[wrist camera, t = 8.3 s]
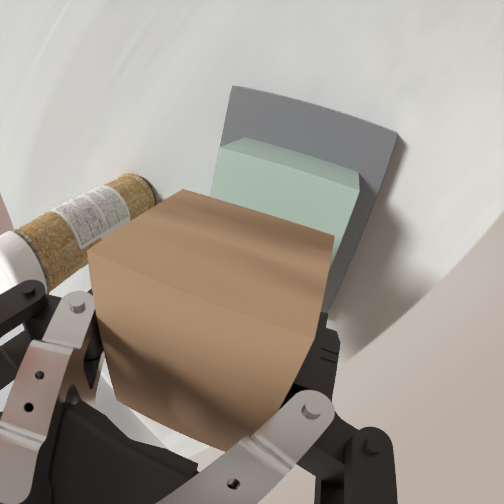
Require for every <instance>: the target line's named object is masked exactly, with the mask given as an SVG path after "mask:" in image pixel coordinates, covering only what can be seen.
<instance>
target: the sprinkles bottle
mask: <svg viewBox="0 0 504 504" xmlns="http://www.w3.org/2000/svg"><path fill="white" fill-rule="evenodd" d="M154 206H155V201H154V196H153V192H152V190H151V188H150V187H149V186H148V184H147V183H146V181H145V180H144V179H143V178H141V177H140V176H139V175H135V174H130V173H128V174H123V175H121V176H119V177H118V178H117V179H116V180H114V181H111V182H109V183H107V184H105V185H103V186H98V187H96V188H94V189H91V190H89V191H87V192H85V193H83V194H81V195H79V196H77V197H74V198H72V199H70V200H68V201H66V202H64V203H62V204H60V205H58V206H56V207H54V208H53V209H51V210H49V211H47V212H45V213H44V214H43V215H41V216H39V217H38V218H36V219H34V220H33V221H31V222H29V223H27V224H26V225H24V226H22V227H20V228H19V229H15V230H13V231H9V232H6V233H4V234H2V235H1V236H0V294H2V293H4V292H5V291H7V290H9V289H11V288H12V287H14V286H16V285H18V284H19V283H21V282H23V281H26V280H38V281H40V282H42V283H43V284H44V286H45V289H46V294H49V292H50V291H51V290H53V289H54V288H56V287H57V286H58V285H59V284H61V283H62V282H63V281H64V280H66V279H67V278H68V277H70V276H71V275H72V274H74V273H75V272H76V271H78V270H79V269H81V268H83V267H84V266H86V265H87V264H88V255H87V250H88V249H90V248H91V247H93V246H94V245H95V244H97V243H98V242H100V241H101V240H103V239H104V238H106V237H107V236H109V235H110V234H112V233H113V232H115V231H116V230H118V229H119V228H121V227H122V226H124V225H126V224H127V223H129V222H130V221H132V220H133V219H135V218H136V217H138V216H140V215H141V214H143V213H144V212H146V211H148V210H149V209H151V208H152V207H154Z"/></svg>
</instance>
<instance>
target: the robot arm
mask: <svg viewBox="0 0 504 504" xmlns="http://www.w3.org/2000/svg"><path fill="white" fill-rule="evenodd" d="M327 318H328V314H327V313H324V312H321V311H320V316H319V321H318V325H317V330H316V334H315V339H314V341H313V343H312V345H311V347H310V349H309V351H308V353H307V355H306V358H305V360H304V362H303V364H302V366H301V368H300V370H299V372H298V374H297V376H296V378H295V380H294V382H293V384H292V386H291V387H290V389H289V391H288V393H287V395H286V397H285V399H284V401H283V403H282V405H281V406H280V408H279V410H278V412H277V413H276V414H274V415H273V416H272V417H271V418H270V419H269V420H268V421H267V422H266V423H265V424H264V425H262V426H261V427H260V428H259V429H258V430H257V431H256V432H254V433H253V434H252V435H247V436H245V437H244V438H243V439H241V440H240V441H239V442H237V443H236V444H235V445H234V446H233V447H231V448H230V449H229V450H228V451H227V452H225V453H224V454H223V455H222V456H220V457H219V458H218V459H217V460H215V461H214V462H213V463H211V464H210V465H209V466H208V467H206V468H205V469H204V470H202V471H201V472H198V471H197V467H198V463H196V462H193V461H191V460H189V459H187V458H184V457H182V456H180V455H178V454H176V453H174V452H171V451H169V450H167V449H165V448H160V447H156V446H152V445H149V444H145V443H141V442H137V441H134V440H131V439H130V438H128V437H127V436H126V435H125V434H124V433H123V432H122V431H120V430H119V429H118V428H117V427H116V426H115V425H114V424H113V423H112V422H111V421H110V420H109V419H108V418H107V416H106V415H104V414H102V413H101V412H99V411H98V410H96V403H95V396H96V390H97V386H98V381H99V378H100V374H101V370H102V366H103V362H104V358H105V354H104V350H103V345H102V341H101V336H100V331H99V326H98V321H97V316H96V310H95V305H94V299H93V292H92V289H90V290H89V291H88V292H83V291H76V292H71V293H69V294H67V295H65V296H64V297H63V298H61V297H56V296H52V295H48V294H46V289H45V286H44V284H43V283H42V282H40V281H38V280H26V281H23V282H21V283H19V284H18V285H16V286H14V287H12V288H11V289H9V290H7V291H5V292H4V293H2V294H0V338H1V337H2V336H3V335H5V334H6V333H8V332H9V331H11V330H12V329H14V328H15V327H17V326H18V325H20V324H23V326H24V329H25V330H24V331H23V332H21V333H20V334H18V335H17V336H15V337H14V338H12V339H11V340H9V341H8V342H6V343H5V344H4V345H2V346H0V390H1V389H2V388H4V387H5V386H6V385H8V384H9V383H10V382H12V381H13V380H14V379H15V380H14V383H13V386H12V388H11V391H10V394H9V396H8V399H7V402H6V405H5V408H4V411H3V412H0V504H257V503H258V502H259V501H260V500H261V499H262V498H263V497H264V496H266V495H267V494H268V493H269V492H270V491H271V490H272V489H273V488H274V487H275V486H276V485H277V484H278V483H279V482H280V481H281V480H282V479H283V478H284V477H285V475H286V474H287V473H288V472H289V471H290V470H291V469H292V467H293V466H294V465H295V464H297V465H299V466H300V467H302V468H304V469H305V470H307V471H308V472H310V473H311V474H313V475H315V476H316V481H315V499H314V504H398V503H397V488H396V474H395V463H394V455H393V454H394V453H393V445H392V442H391V440H390V438H389V436H388V435H387V434H386V433H385V432H384V431H382V430H381V429H378V428H375V427H365V428H362V429H360V430H358V429H356V428H354V427H353V426H351V425H349V424H348V423H346V422H345V421H343V420H342V419H341V418H340V417H339V416H338V415H337V413H336V412H335V410H334V406H333V404H332V394H333V389H334V383H335V376H336V370H337V363H338V357H339V356H338V355H339V350H340V340H339V337H338V334H337V331H334V330H331V329H328V328H326V323H327Z"/></svg>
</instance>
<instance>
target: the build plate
mask: <svg viewBox="0 0 504 504" xmlns="http://www.w3.org/2000/svg"><path fill="white" fill-rule="evenodd" d="M397 136H398V133H397V132H395V131H392V130H390V129H387V128H384V127H382V126H379V125H376V124H374V123H371V122H368V121H365V120H362V119H359V118H357V117H354V116H351V115H348V114H345V113H341V112H338V111H335V110H332V109H329V108H325V107H322V106H319V105H315V104H312V103H308V102H304V101H301V100H297V99H293V98H289V97H285V96H281V95H277V94H273V93H268V92H264V91H259V90H254V89H250V88H245V87H240V86H232V89H231V94H230V99H229V104H228V108H227V113H226V118H225V123H224V129H223V134H222V139H221V144H220V147H219V151H218V157H217V162H216V168H215V173H214V179H213V185H212V191H211V197H212V198H215V199H219V200H222V201H226V202H229V203H232V204H236V205H239V206H242V207H246V208H249V209H252V210H256V211H259V212H262V213H265V214H269V215H272V216H275V217H278V218H281V219H285V220H288V221H291V222H294V223H297V224H300V225H303V226H307V227H310V228H313V229H316V230H319V231H322V232H325V233H328V234H331V235H334V236H335V238H334V244H333V249H332V255H331V261H330V266H329V271H328V277H327V282H326V287H325V292H324V297H323V302H322V307H321V312H324V313H327V312H328V310H329V308H330V306H331V303H332V301H333V299H334V297H335V295H336V293H337V291H338V288H339V286H340V284H341V282H342V279H343V277H344V275H345V273H346V270H347V268H348V266H349V264H350V261H351V259H352V257H353V254H354V252H355V249H356V247H357V245H358V242H359V240H360V237H361V235H362V233H363V230H364V228H365V225H366V223H367V220H368V217H369V215H370V212H371V210H372V207H373V205H374V202H375V199H376V197H377V194H378V191H379V188H380V186H381V183H382V180H383V177H384V175H385V172H386V169H387V166H388V163H389V160H390V157H391V154H392V151H393V148H394V145H395V142H396V139H397Z"/></svg>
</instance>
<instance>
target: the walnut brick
mask: <svg viewBox="0 0 504 504" xmlns="http://www.w3.org/2000/svg"><path fill="white" fill-rule="evenodd" d="M334 238H335V236H334V235H331V234H328V233H325V232H322V231H319V230H316V229H313V228H310V227H307V226H303V225H300V224H297V223H294V222H291V221H288V220H285V219H281V218H278V217H275V216H272V215H269V214H265V213H262V212H259V211H256V210H252V209H249V208H246V207H242V206H239V205H236V204H232V203H229V202H226V201H222V200H219V199H215V198H212V197H209V196H205V195H202V194H198V193H195V192H191V191H187V190H184V189H182V190H181V191H179V192H177V193H176V194H174V195H172V196H171V197H169V198H167V199H166V200H164V201H162V202H161V203H159V204H157V205H156V206H154V207H152V208H151V209H149V210H148V211H146V212H144V213H143V214H141V215H140V216H138V217H136V218H135V219H133V220H132V221H130V222H129V223H127V224H126V225H124V226H122V227H121V228H119V229H118V230H116V231H115V232H113V233H112V234H110V235H109V236H107V237H106V238H104V239H103V240H101V241H100V242H98V243H97V244H95V245H94V246H93V247H91V248H90V249H88V250H87V255H88V264H89V271H90V279H91V286H92V292H93V299H94V305H95V310H96V316H97V321H98V326H99V331H100V336H101V341H102V345H103V350H104V354H105V358H106V362H107V366H108V370H109V374H110V378H111V382H112V385H113V389H114V393H115V396H116V399H117V401H119V402H121V403H122V404H124V405H126V406H128V407H130V408H131V409H133V410H135V411H137V412H139V413H141V414H143V415H144V416H146V417H148V418H150V419H152V420H154V421H156V422H158V423H160V424H162V425H164V426H166V427H168V428H171V429H173V430H175V431H177V432H179V433H181V434H184V435H186V436H188V437H190V438H193V439H195V440H197V441H200V442H202V443H204V444H207V445H209V446H212V447H214V448H217V449H220V450H222V451H225V452H227V451H228V450H229V449H230V448H231V447H233V446H234V445H235V444H236V443H237V442H239V441H240V440H241V439H243V438H244V437H245V436H247V435H252V434H253V433H254V432H256V431H257V430H258V429H259V428H260V427H261V426H262V425H264V424H265V423H266V422H267V421H268V420H269V419H270V418H271V417H272V416H273V415H274V414H276V413H277V412H278V410H279V408H280V406H281V405H282V403H283V401H284V399H285V397H286V395H287V393H288V391H289V389H290V387H291V386H292V384H293V382H294V380H295V378H296V376H297V374H298V372H299V370H300V368H301V366H302V364H303V362H304V360H305V358H306V355H307V353H308V351H309V349H310V347H311V345H312V343H313V341H314V339H315V334H316V330H317V325H318V321H319V316H320V311H321V307H322V302H323V297H324V292H325V287H326V282H327V277H328V271H329V266H330V261H331V255H332V249H333V244H334Z"/></svg>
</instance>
